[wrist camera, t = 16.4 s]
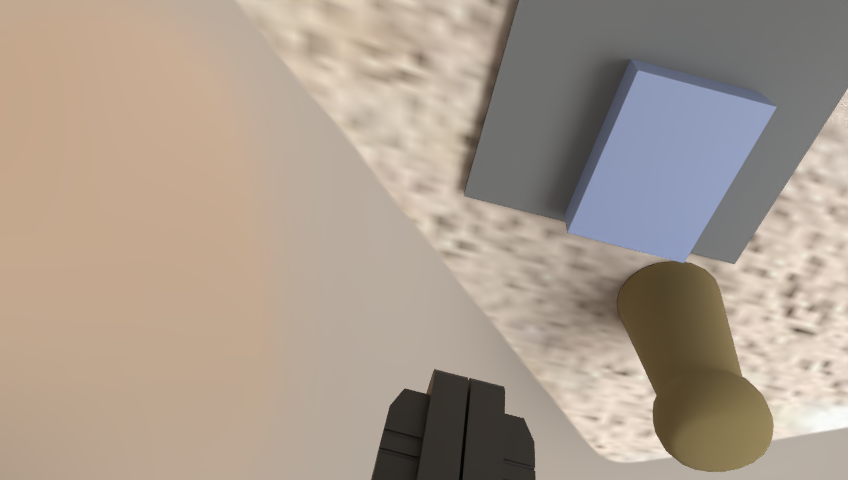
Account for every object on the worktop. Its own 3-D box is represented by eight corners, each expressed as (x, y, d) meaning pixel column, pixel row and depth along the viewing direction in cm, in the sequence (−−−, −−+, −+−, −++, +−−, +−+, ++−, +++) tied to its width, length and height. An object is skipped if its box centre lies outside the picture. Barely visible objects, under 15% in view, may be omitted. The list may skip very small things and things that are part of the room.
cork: (690, 243, 33) (759, 386, 23) (738, 311, 35) (818, 466, 25) (598, 291, 35) (627, 435, 26) (647, 351, 37) (690, 504, 28)
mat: (889, 9, 25) (896, 11, 25) (731, 258, 33) (734, 264, 32) (540, -79, 25) (540, -78, 25) (464, 191, 33) (463, 196, 32)
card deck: (630, 58, 27) (760, 93, 27) (564, 214, 32) (675, 243, 32) (637, 70, 25) (777, 106, 25) (567, 232, 30) (683, 263, 30)
